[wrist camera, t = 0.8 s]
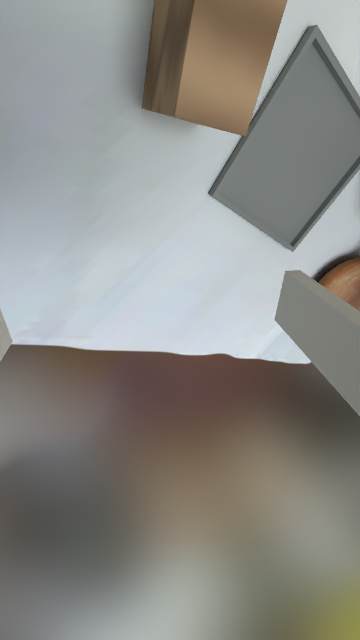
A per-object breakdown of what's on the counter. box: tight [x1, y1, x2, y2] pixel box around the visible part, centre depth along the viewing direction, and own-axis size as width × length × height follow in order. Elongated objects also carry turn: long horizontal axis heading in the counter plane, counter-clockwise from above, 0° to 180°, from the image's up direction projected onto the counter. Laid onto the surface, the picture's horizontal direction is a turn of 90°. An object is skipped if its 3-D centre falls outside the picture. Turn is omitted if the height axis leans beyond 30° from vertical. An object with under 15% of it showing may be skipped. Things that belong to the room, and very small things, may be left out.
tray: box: [209, 25, 360, 252], centre depth 35 cm, size 17×17×1 cm
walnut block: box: [142, 0, 287, 136], centre depth 22 cm, size 8×6×10 cm
